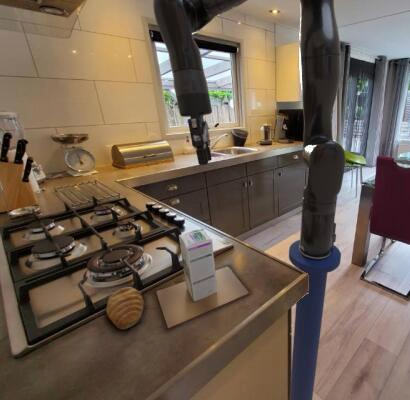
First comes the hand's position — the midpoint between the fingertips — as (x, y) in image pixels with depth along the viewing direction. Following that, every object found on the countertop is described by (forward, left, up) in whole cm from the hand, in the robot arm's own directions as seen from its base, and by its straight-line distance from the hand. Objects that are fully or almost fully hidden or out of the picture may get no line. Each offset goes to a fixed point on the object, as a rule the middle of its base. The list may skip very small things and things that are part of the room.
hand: (205, 162), depth 63 cm
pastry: (+23, +11, -27) cm, 37 cm away
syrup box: (+8, +13, -27) cm, 31 cm away
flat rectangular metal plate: (+8, +14, -27) cm, 32 cm away
